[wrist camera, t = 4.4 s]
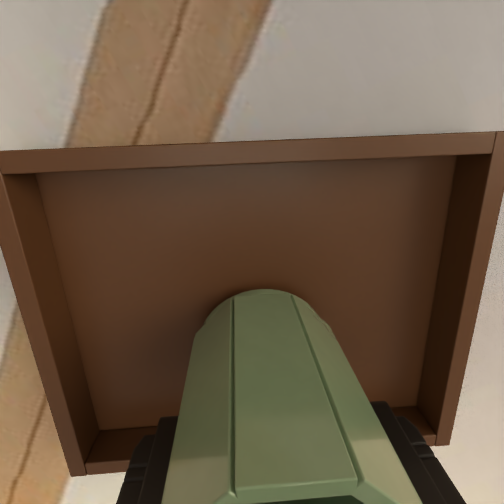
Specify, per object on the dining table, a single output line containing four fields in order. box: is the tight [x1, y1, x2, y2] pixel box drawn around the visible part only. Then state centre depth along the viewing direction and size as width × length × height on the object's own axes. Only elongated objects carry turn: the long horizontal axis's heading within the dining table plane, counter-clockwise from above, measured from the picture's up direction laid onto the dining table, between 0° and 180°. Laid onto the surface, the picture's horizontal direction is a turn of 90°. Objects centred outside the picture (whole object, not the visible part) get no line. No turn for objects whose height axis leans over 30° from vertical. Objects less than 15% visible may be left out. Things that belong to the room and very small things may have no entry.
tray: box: [0, 131, 504, 477], centre depth 15 cm, size 20×16×3 cm
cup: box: [161, 289, 423, 504], centre depth 12 cm, size 6×6×9 cm
